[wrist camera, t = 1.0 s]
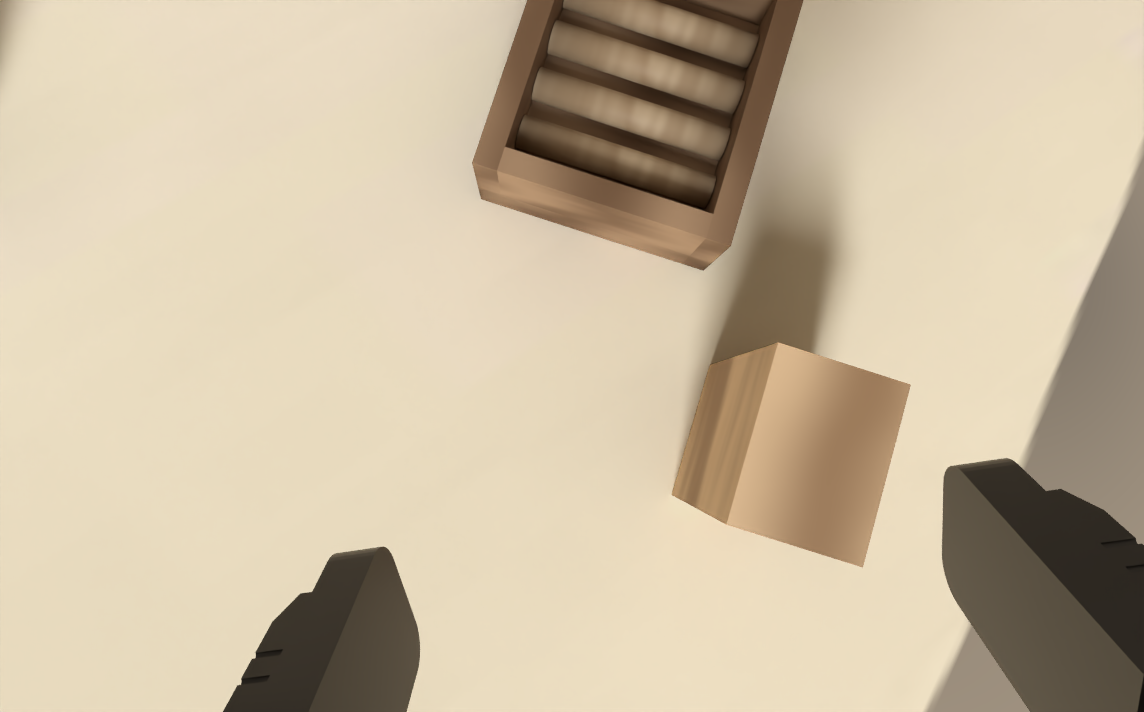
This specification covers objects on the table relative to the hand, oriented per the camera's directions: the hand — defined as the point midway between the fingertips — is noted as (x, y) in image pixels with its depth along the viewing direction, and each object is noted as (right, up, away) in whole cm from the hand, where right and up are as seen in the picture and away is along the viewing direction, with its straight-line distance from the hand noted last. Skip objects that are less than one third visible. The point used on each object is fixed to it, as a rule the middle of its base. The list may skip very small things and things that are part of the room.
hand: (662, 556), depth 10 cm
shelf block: (+6, -1, +21) cm, 22 cm away
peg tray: (+1, +14, +22) cm, 26 cm away
